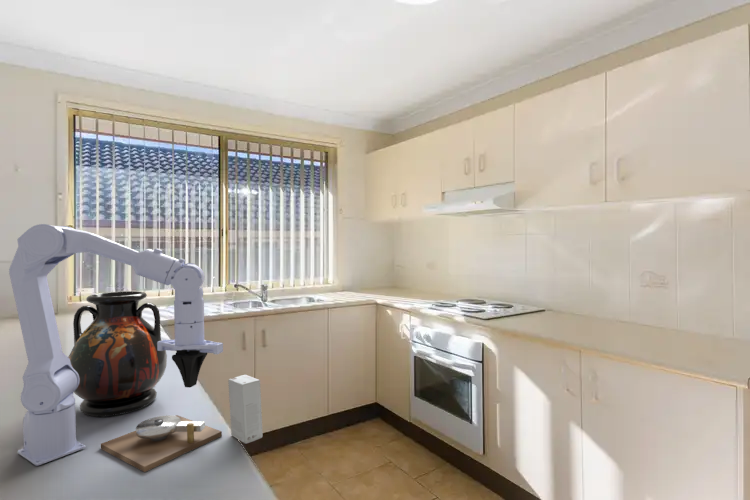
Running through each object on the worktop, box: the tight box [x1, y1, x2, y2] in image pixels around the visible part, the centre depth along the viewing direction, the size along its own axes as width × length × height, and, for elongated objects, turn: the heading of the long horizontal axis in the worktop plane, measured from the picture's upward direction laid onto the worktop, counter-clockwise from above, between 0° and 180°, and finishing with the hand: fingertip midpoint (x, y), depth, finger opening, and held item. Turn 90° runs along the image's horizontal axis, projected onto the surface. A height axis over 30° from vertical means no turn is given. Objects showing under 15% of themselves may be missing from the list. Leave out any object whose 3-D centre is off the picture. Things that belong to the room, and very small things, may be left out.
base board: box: [100, 414, 223, 473], centre depth 84 cm, size 16×16×4 cm
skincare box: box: [227, 374, 264, 444], centre depth 86 cm, size 6×4×12 cm
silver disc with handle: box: [135, 414, 206, 439], centre depth 84 cm, size 13×8×2 cm, turn 89°
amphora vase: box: [67, 290, 168, 418], centre depth 104 cm, size 22×22×28 cm
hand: (190, 385), depth 88 cm, fingers closed
